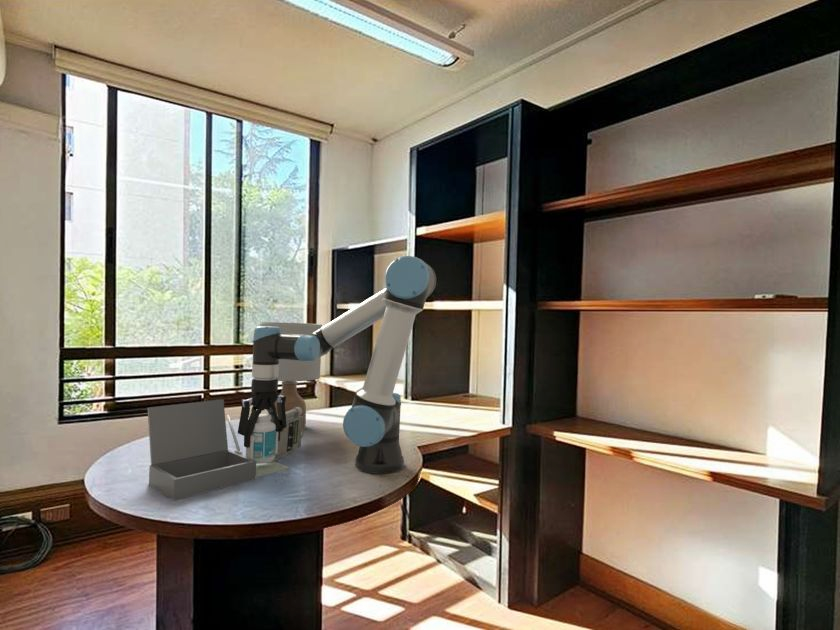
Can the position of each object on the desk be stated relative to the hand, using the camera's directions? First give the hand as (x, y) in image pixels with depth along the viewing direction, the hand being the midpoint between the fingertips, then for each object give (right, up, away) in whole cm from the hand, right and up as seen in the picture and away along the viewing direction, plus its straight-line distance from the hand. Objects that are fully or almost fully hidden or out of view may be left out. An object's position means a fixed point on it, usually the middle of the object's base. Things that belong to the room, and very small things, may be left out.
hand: (261, 455), depth 142 cm
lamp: (-6, -4, +50) cm, 51 cm away
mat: (0, -4, 0) cm, 4 cm away
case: (-13, -3, -11) cm, 17 cm away
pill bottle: (0, -2, 0) cm, 2 cm away
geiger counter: (+2, -4, +17) cm, 17 cm away
